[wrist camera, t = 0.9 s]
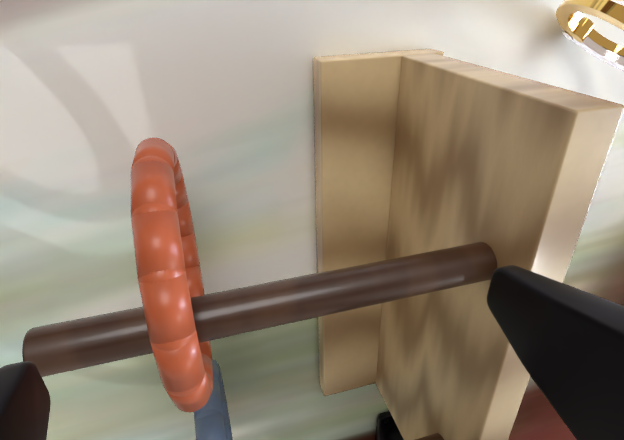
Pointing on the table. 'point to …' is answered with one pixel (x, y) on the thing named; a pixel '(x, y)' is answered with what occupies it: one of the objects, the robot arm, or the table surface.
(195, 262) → the terracotta ring
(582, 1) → the ring
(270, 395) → the table surface
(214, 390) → the slate ring
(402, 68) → the peg rack
